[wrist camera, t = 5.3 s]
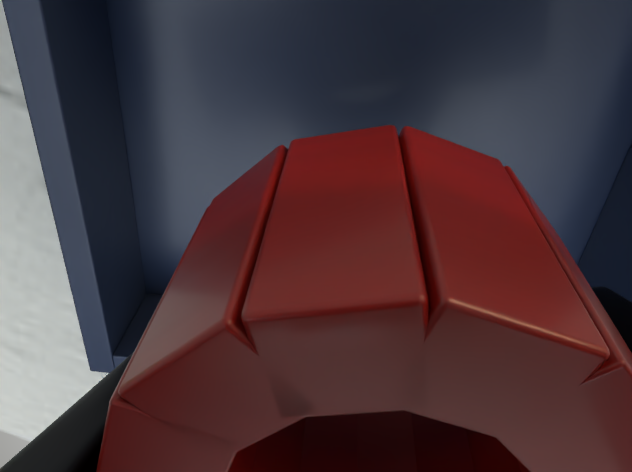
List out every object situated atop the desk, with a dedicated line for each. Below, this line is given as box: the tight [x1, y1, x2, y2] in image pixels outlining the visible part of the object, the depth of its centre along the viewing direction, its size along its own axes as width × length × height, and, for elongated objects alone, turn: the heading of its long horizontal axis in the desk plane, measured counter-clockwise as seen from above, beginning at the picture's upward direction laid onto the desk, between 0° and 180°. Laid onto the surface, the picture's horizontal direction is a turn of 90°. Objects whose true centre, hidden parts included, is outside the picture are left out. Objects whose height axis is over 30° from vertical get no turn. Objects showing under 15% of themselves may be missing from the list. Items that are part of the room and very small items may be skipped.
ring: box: [96, 125, 632, 472], centre depth 7 cm, size 7×7×4 cm
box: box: [2, 0, 632, 373], centre depth 13 cm, size 16×14×3 cm
